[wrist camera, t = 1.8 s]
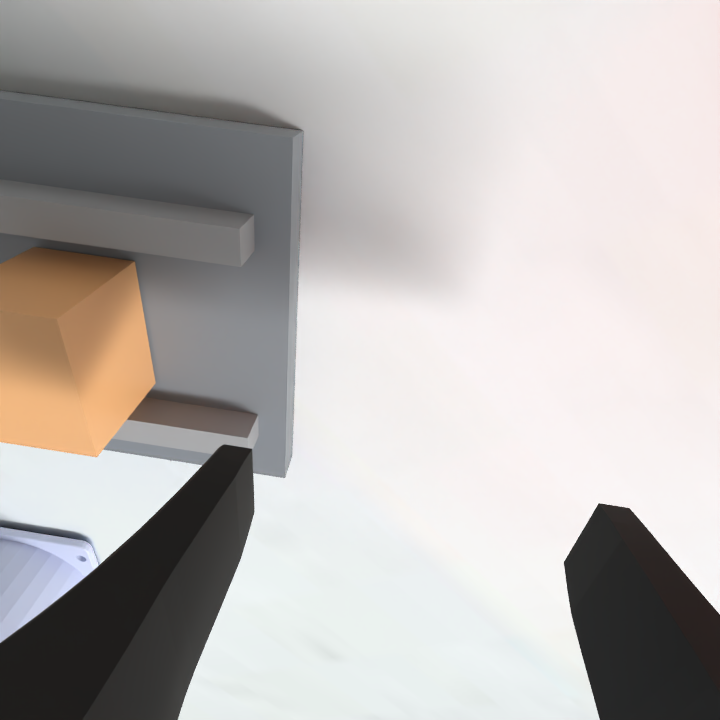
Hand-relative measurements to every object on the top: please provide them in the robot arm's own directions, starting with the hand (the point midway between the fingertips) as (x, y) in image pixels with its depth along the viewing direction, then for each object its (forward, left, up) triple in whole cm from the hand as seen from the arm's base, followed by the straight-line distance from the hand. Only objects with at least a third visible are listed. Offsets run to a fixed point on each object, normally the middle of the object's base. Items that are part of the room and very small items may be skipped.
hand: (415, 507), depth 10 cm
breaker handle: (0, +10, -5) cm, 11 cm away
